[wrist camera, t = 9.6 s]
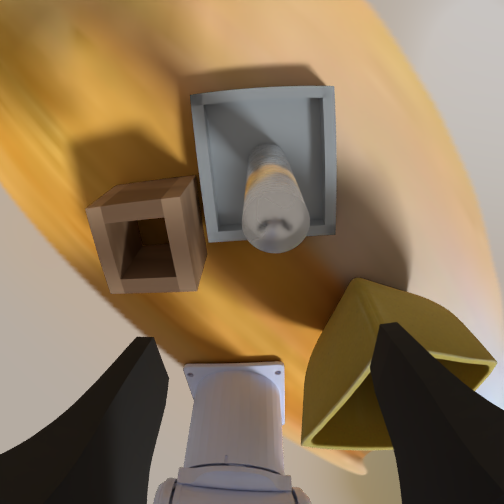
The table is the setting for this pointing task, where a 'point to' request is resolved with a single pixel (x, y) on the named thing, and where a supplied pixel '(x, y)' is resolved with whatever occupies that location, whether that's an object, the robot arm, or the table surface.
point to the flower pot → (359, 359)
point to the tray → (257, 132)
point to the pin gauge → (273, 202)
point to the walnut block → (150, 256)
